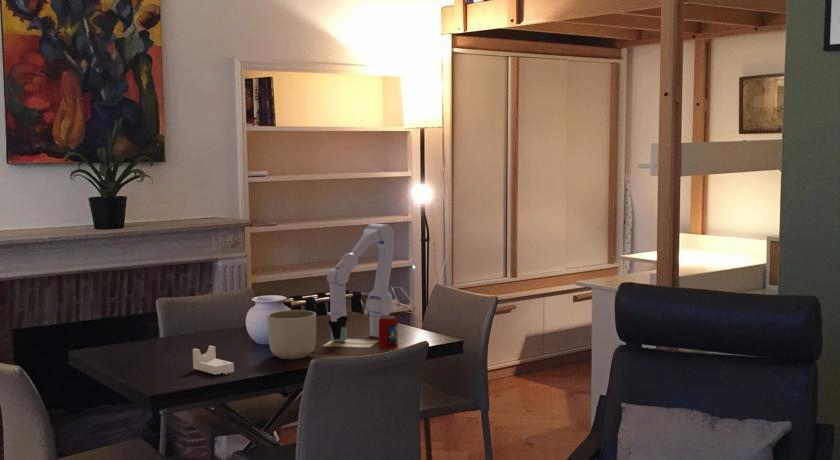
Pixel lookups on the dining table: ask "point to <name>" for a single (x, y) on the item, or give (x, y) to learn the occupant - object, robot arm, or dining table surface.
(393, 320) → the beverage can
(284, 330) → the planter
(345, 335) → the cap
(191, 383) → the dining table surface
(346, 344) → the stud plate
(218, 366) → the bracket
